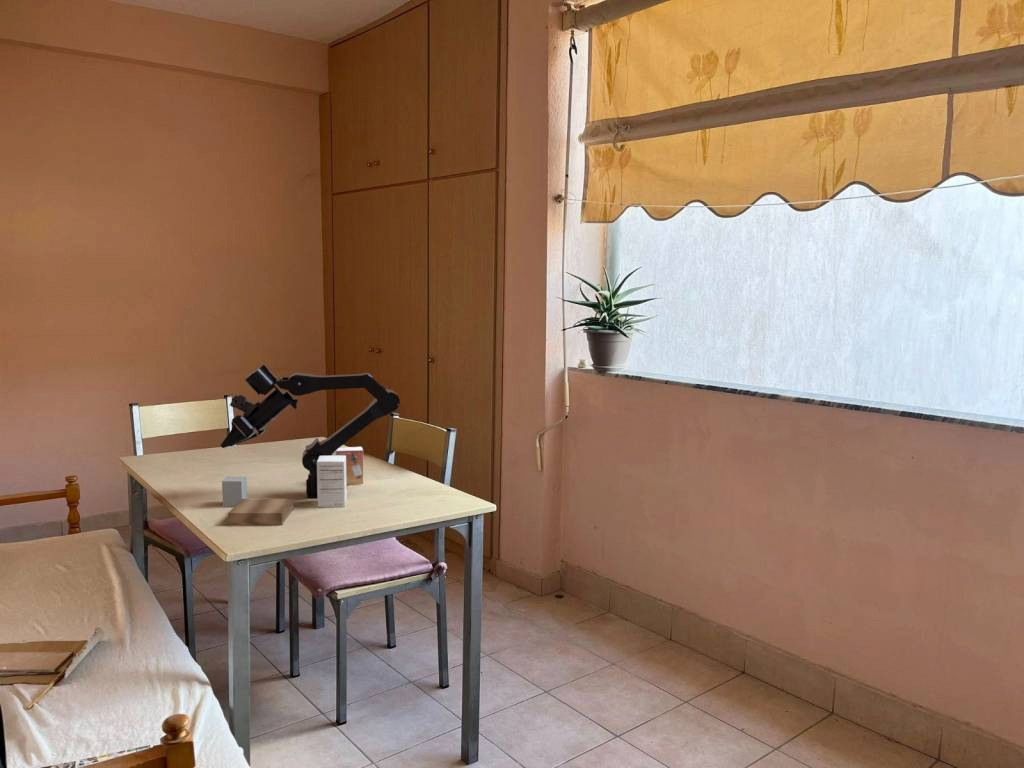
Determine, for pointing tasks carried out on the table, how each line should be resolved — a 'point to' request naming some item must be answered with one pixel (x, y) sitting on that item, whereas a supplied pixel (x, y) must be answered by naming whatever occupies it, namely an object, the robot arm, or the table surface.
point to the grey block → (234, 490)
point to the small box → (353, 464)
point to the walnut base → (260, 512)
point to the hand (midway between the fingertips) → (225, 445)
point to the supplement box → (331, 481)
